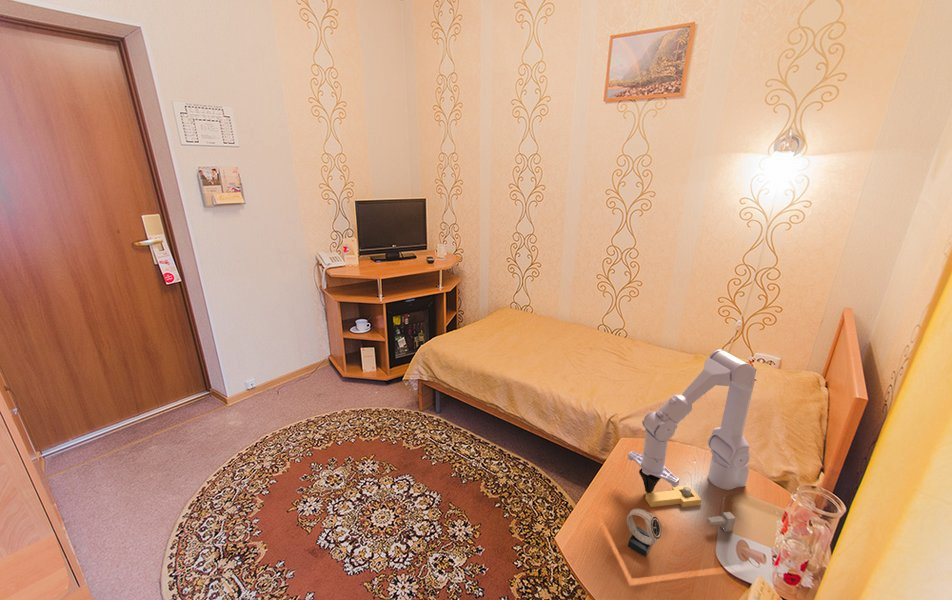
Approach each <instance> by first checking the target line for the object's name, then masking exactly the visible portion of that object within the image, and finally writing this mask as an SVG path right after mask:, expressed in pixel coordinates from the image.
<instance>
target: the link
mask: <svg viewBox="0 0 952 600" xmlns="http://www.w3.org/2000/svg"><path fill="white" fill-rule="evenodd" d="M684 487H689V488H690V489H691V495H690V497H688V498H685V497H684V496H683V495H682V493H683V488H684ZM644 499H645V501H646V502H647V503H648V506H649V507H650V508H657V507H663V506H672V505H674V506H675V505H681V507H682V508H688V507H696V506H701V503H702V498H701V497H700V496H699V495H698V494H697V493H696V491H695V490H694V488H693V487H692V486H691V485H690V484H688V485H686V484H685V485H677V486H676V487H675V488H674V487H673V486H671V490H665V491H653V492H651V493H647V492H645V498H644Z"/></svg>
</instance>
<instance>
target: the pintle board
mask: <svg viewBox="0 0 952 600" xmlns="http://www.w3.org/2000/svg"><path fill="white" fill-rule="evenodd" d="M682 495H683V496H684V497H685V498H688V497H690V495H691V489H690V488H689V487H684V488H683V493H682ZM706 521H707V522H708V523H709V525H710V526H715V525H716V526H717V525H719V526H720V525H721V526H722V527H723V528H724V530H725V531H727V532H726V533H728V532H733V530H734V527H735V522H736V516H734V515H733V513H732V512H731V511H726V512H722V515H717V516H709V517H707V519H706ZM721 526H720V527H721ZM722 527H721V528H722ZM724 530H723V531H724ZM725 531H724V532H725Z"/></svg>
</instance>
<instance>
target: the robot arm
mask: <svg viewBox="0 0 952 600" xmlns="http://www.w3.org/2000/svg"><path fill="white" fill-rule="evenodd" d="M703 367H704V368H703V369H702V370H701V371H700V373H699V374H698V375H697V376H696V377H695V378H694V379H693V380H692V382H690V384H689V385H688V386H687V387H686V388H685V389H684V390H683V392H682V393H681V394H673V395H672V396H671V397H670V398H669V399H668V400H667V401H666V402H665V403H664V404H663V405H662V406H661V407H659V409H657V411H651V412H649V413H648V414H646V415H645V416H644V418H643V420H642V421H641V423H642V427H643V428H644V433H645V437H644V444H643V452H642V454H640V453H637V452H635V451H633V450H631V451H630V452H628V454H627V460H629V461H634V462H635V463H636V464H637V465H638V466H639V467H640V469H639V470H638V471H639V472H638V473H639V476H640V477H641V479H642V482H643V485H644V486H643V487H644V492H645V493H654V489H655V487H656V486H657V484H658V482H659V481H660V480H661V479H662V480H664V481H666V482H667V483H669V484H670V485H671V487H674V488H675V487H677V486H679V485H680V484H679V483H680V478H678V477H677V476H675V475H674V474H673V473H672V472H671V471H670V470H669V469H668V468H667V467H666V466H665V462H666V454H667V449H668V441H669V439H672V437H674V435H675V432H676V429H677V428H678V424H679V423H680V422H682V420H684V419H685V418H686V417H687V416H688V415H689V414H690V413H691V412H692V411H693V404H695V402H696V401H697V400H699V399H701V397H703V396H705V394H707V393H708V392H709V391H710V390H711V389H712V390H713V388H714V387H715V386H723V387H728V391H727V396H726V400H725V405H724V409H723V415H722V419H721V423H720V427H719V426H717V427H715V428H713V429H712V432H711V435H710V436H709V438H708V440H707V446H708V448H709V449H710V453H711V459H710V462H709V463H710V464H709V468H708V469H709V470H708V474H707V478H708V480H709V482H710V483H711V484H712V485H714V486H715V487H716V488H719V489H722V490H727V491H730V490H734V489H736V488H742V487H746V485H747V481H748V477H749V470H750V469H749V466H748V463H749V461H750V457H751V455H750V451H749V450H750V444H749V443H748V441H747V440H746V438H745V436H744V430H745V426H746V422H747V417H748V412H749V409H750V403H751V400H752V394H753V390H754V387H755V382H756V381H755V380H756V378H755V377H756V374H757V368H756V367H754V366H753V365H751V364H750V363H749V362H745V361H743V360H742V359H740V358H738V357H736V356H734V355H732V353H731V354H730V353H729V352H727V351H726V350H724V349H716V350H714V351H713V352H712V353H711V354H709V357H707V358H706V359H705V360H704V366H703Z"/></svg>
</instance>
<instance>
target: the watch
mask: <svg viewBox="0 0 952 600" xmlns="http://www.w3.org/2000/svg"><path fill="white" fill-rule="evenodd" d="M633 516H639V517H640V518H643V519H644V524H645V527H646V530H645V529H644V528H641V527H639V526H638V525H636V523H635V521H634V518H633ZM626 525H627V528H628V530H629V532H630V533H631V536H630V538H629V540H628V545H627V547H628V548H629V549H631V550H633V551H634V552H636V553H638V554H639V555H641V556H643V557H647V555H648V553H649V551H650V549H651V547H652V545H655V544H656V543H657V541H658V540H659V539H660V538H661V536H662V525H661V522H660V520H659V518H658V517H657V516H655V515H654V514H653V513H651V512H649V511H647V510H645V509H642V508H637V507H636V508H633V509H631V510H630V512H629V513H628V514H627V516H626Z"/></svg>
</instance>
